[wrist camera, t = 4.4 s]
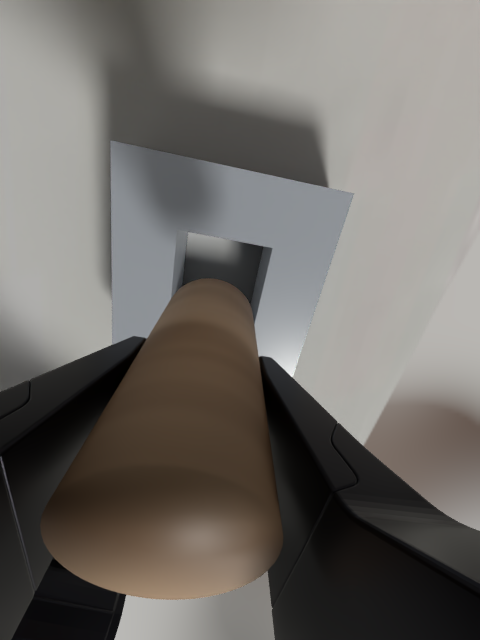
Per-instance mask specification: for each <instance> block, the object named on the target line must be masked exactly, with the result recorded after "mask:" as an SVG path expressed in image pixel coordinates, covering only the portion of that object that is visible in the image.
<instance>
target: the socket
mask: <svg viewBox="0 0 480 640" xmlns="http://www.w3.org/2000/svg"><path fill="white" fill-rule="evenodd" d="M110 155H111V254H112V345H113V344H115V343H118V342H120V341H123V340H125V339H127V338H130V337H132V336H138V337H144V338H146V339H147V338H148V336H149V335H150V333H151V331H152V330H153V328H154V326H155V325H156V323H157V321H158V320H159V318H160V316H161V315H162V313H163V311H164V310H165V308H166V306H167V305H168V303H169V301H170V300H171V298H172V297H173V295H174V294H175V293H176V292H177V291H178V290H179V289H180V288H181V287H182V284H183V274H184V265H185V255H186V246H187V236H188V232H192V233H197V234H203V235H208V236H213V237H218V238H223V239H228V240H233V241H239V242H244V243H249V244H254V245H259V246H263V251H262V255H261V260H260V264H259V269H258V273H257V278H256V282H255V287H254V291H253V296H252V300H251V305H250V306H251V308H252V312H253V319H254V327H255V334H256V341H257V349H258V356H259V357H260V356H266V357H271V358H273V359H274V360H275V361H276V362H277V363H278V364H279V365H280V366H281V367H282V368H283V369H284V370H285V371H286V372H287V373H288V374H289V375H290V376H291V377H293V374H294V371H295V368H296V365H297V362H298V359H299V356H300V353H301V351H302V348H303V345H304V342H305V339H306V336H307V333H308V330H309V327H310V324H311V321H312V318H313V315H314V312H315V309H316V306H317V303H318V300H319V297H320V294H321V291H322V288H323V285H324V282H325V279H326V276H327V273H328V270H329V267H330V264H331V261H332V258H333V255H334V252H335V249H336V246H337V243H338V240H339V237H340V234H341V231H342V228H343V225H344V222H345V219H346V216H347V213H348V210H349V207H350V204H351V201H352V198H353V195H354V193H350V192H345V191H340V190H336V189H331V188H327V187H322V186H318V185H313V184H308V183H304V182H299V181H295V180H290V179H286V178H281V177H277V176H272V175H267V174H263V173H258V172H254V171H249V170H245V169H240V168H235V167H231V166H226V165H222V164H217V163H213V162H208V161H204V160H199V159H194V158H190V157H185V156H181V155H176V154H172V153H167V152H162V151H158V150H153V149H149V148H144V147H140V146H135V145H131V144H126V143H121V142H117V141H112V140H110Z"/></svg>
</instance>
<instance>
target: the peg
mask: <svg viewBox="0 0 480 640" xmlns="http://www.w3.org/2000/svg"><path fill="white" fill-rule="evenodd" d="M40 528H41V535H42V538H43V541H44V544H45V545H46V547H47V549H48V551H49V552H50V553H51V555H52V556H53V557H54V558H55V559H56V560H57V561H58V562H59V563H60V564H61V565H62V566H63V567H65V568H66V569H67V570H69V571H70V572H72V573H73V574H75V575H76V576H78V577H80V578H82V579H83V580H85V581H88V582H90V583H92V584H94V585H97V586H99V587H102V588H105V589H108V590H111V591H114V592H118V593H122V594H126V595H131V596H137V597H143V598H151V599H167V600H169V599H170V600H177V599H194V598H201V597H208V596H213V595H218V594H222V593H226V592H228V591H232V590H235V589H237V588H240V587H242V586H245V585H247V584H248V583H250V582H252V581H254V580H256V579H257V578H259V577H260V576H262V575H263V574H264V573H265V572H266V571H268V570H269V569H270V568H271V566H272V565H273V564H274V563H275V562H276V560H277V558H278V557H279V555H280V552H281V549H282V546H283V530H282V523H281V516H280V509H279V501H278V494H277V487H276V479H275V472H274V465H273V458H272V450H271V443H270V436H269V429H268V421H267V414H266V407H265V399H264V392H263V385H262V378H261V370H260V363H259V356H258V349H257V341H256V334H255V327H254V319H253V312H252V308H251V306H250V303H249V301H248V300H247V298H246V297H245V295H244V294H243V293H242V292H241V291H240V290H239V289H238V288H236V287H235V286H233V285H232V284H230V283H228V282H225V281H222V280H218V279H211V278H205V279H198V280H194V281H192V282H189V283H187V284H185V285H184V286H182V287H181V288H180V289H179V290H178V291H177V292H176V293H175V294H174V295H173V297H172V298H171V300H170V301H169V303H168V305H167V306H166V308H165V310H164V311H163V313H162V315H161V316H160V318H159V320H158V321H157V323H156V325H155V326H154V328H153V330H152V331H151V333H150V335H149V336H148V338H147V339H146V341H145V343H144V344H143V346H142V348H141V349H140V351H139V353H138V354H137V356H136V358H135V359H134V361H133V363H132V364H131V366H130V368H129V369H128V371H127V373H126V374H125V376H124V378H123V379H122V381H121V382H120V384H119V386H118V387H117V389H116V391H115V392H114V394H113V396H112V397H111V399H110V401H109V402H108V404H107V406H106V407H105V409H104V411H103V412H102V414H101V416H100V417H99V419H98V420H97V422H96V424H95V425H94V427H93V429H92V430H91V432H90V434H89V435H88V437H87V439H86V440H85V442H84V444H83V445H82V447H81V449H80V450H79V452H78V454H77V455H76V457H75V459H74V460H73V462H72V463H71V465H70V467H69V468H68V470H67V472H66V473H65V475H64V477H63V478H62V480H61V482H60V483H59V485H58V487H57V488H56V490H55V492H54V493H53V495H52V497H51V498H50V500H49V501H48V503H47V505H46V507H45V509H44V511H43V513H42V517H41V523H40Z"/></svg>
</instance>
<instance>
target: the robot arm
mask: <svg viewBox="0 0 480 640" xmlns="http://www.w3.org/2000/svg"><path fill="white" fill-rule="evenodd" d="M145 341H146V338H144V337H138V336H132V337H130V338H127V339H125V340H123V341H120V342H118V343H115V344H113V345H111V346H108V347H106V348H104V349H101V350H99V351H97V352H94V353H92V354H90V355H87V356H85V357H82V358H80V359H78V360H75V361H73V362H71V363H68V364H66V365H64V366H61V367H59V368H56V369H54V370H52V371H49V372H47V373H45V374H42V375H40V376H38V377H35V378H33V379H31V380H30V381H26V382H23V383H21V384H19V385H16V386H14V387H11V388H9V389H6V390H4V391H1V392H0V640H114V638H115V635H116V632H117V629H118V626H119V622H120V619H121V615H122V611H123V607H124V602H125V597H126V594H122V593H118V592H114V591H111V590H108V589H105V588H102V587H99V586H97V585H94V584H92V583H90V582H88V581H85V580H83V579H82V578H80V577H78V576H76V575H75V574H73V573H72V572H70V571H69V570H67V569H66V568H65V567H63V566H62V565H61V564H60V563H59V562H58V561H57V560H56V559H55V558H54V557H53V556H52V555H51V553H50V552H49V551H48V549H47V547H46V545H45V544H44V541H43V538H42V535H41V528H40V523H41V517H42V513H43V511H44V509H45V507H46V505H47V503H48V501H49V500H50V498H51V497H52V495H53V493H54V492H55V490H56V488H57V487H58V485H59V483H60V482H61V480H62V478H63V477H64V475H65V473H66V472H67V470H68V468H69V467H70V465H71V463H72V462H73V460H74V459H75V457H76V455H77V454H78V452H79V450H80V449H81V447H82V445H83V444H84V442H85V440H86V439H87V437H88V435H89V434H90V432H91V430H92V429H93V427H94V425H95V424H96V422H97V420H98V419H99V417H100V416H101V414H102V412H103V411H104V409H105V407H106V406H107V404H108V402H109V401H110V399H111V397H112V396H113V394H114V392H115V391H116V389H117V387H118V386H119V384H120V382H121V381H122V379H123V378H124V376H125V374H126V373H127V371H128V369H129V368H130V366H131V364H132V363H133V361H134V359H135V358H136V356H137V354H138V353H139V351H140V349H141V348H142V346H143V344H144V343H145ZM259 363H260V370H261V378H262V385H263V392H264V399H265V407H266V414H267V421H268V429H269V436H270V443H271V450H272V458H273V465H274V472H275V479H276V487H277V494H278V501H279V509H280V516H281V523H282V530H283V546H282V549H281V552H280V555H279V557H278V558H277V560H276V562H275V563H274V564H273V565H272V566H271V568H270V569H269V570H268V577H269V586H270V596H271V604H272V608H273V609H272V616H273V625H274V635H275V640H480V531H478V530H476V529H473V528H470V527H468V526H466V525H464V524H462V523H459V522H458V521H456V520H454V519H452V518H451V517H449V516H447V515H446V514H444V513H443V512H441V511H440V510H438V509H437V508H436V507H434V506H433V505H432V504H431V503H429V502H428V501H427V500H426V499H424V498H423V497H422V496H421V495H420V494H419V493H418V492H416V491H415V490H414V489H413V488H412V487H410V486H409V485H408V484H407V483H406V482H405V481H403V480H402V479H401V478H400V477H399V476H397V475H396V474H395V473H394V472H393V471H392V470H390V469H389V468H388V467H387V466H386V465H384V464H383V463H382V462H381V461H380V460H379V459H377V458H376V457H375V456H374V455H373V454H372V453H371V452H369V451H368V450H367V449H366V448H365V447H364V446H363V445H362V444H360V443H359V442H358V441H357V440H356V439H355V438H354V437H353V436H352V435H351V434H350V433H349V432H348V431H347V430H346V429H345V428H344V427H343V426H342V425H341V424H339V423H337V421H336V420H335V419H334V418H333V417H332V416H331V415H330V414H329V413H328V412H327V411H326V410H325V409H324V408H323V407H322V406H321V405H320V404H319V403H318V402H317V401H316V400H315V399H314V398H313V397H312V396H311V395H310V394H309V393H308V392H307V391H306V390H305V389H304V388H302V387H301V386H300V385H299V384H298V383H297V382H296V381H295V380H294V379H293V378H292V377H291V376H290V375H289V374H288V373H287V372H286V371H285V370H284V369H283V368H282V367H281V366H280V365H279V364H278V363H277V362H276V361H275V360H274V359H273V358H271V357H266V356H260V357H259Z"/></svg>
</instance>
